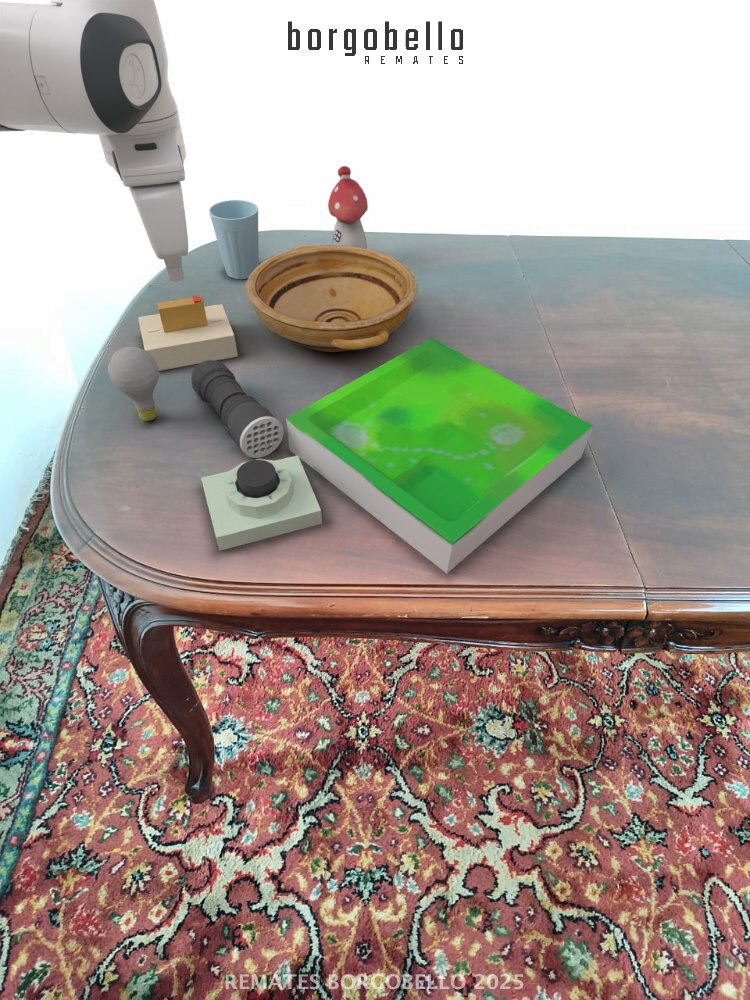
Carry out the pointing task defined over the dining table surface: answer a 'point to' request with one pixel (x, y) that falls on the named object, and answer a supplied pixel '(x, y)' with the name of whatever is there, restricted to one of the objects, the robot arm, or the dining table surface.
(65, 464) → the dining table surface
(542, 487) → the tray
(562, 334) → the dining table surface
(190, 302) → the lock knob
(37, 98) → the robot arm
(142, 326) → the plate
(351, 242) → the decorative ornament
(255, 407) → the flashlight
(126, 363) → the light bulb
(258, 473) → the bell button
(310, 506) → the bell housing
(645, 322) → the dining table surface
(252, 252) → the cup
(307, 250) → the ceramic bowl
